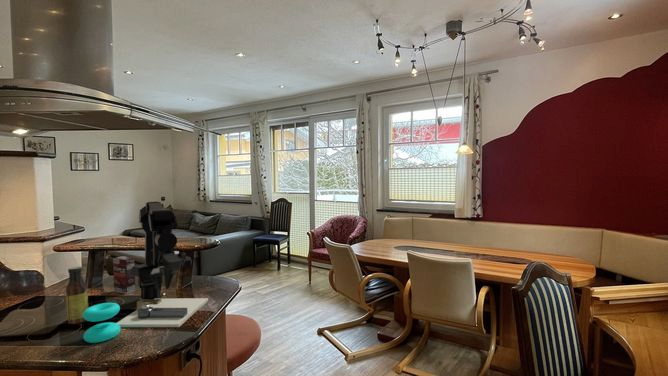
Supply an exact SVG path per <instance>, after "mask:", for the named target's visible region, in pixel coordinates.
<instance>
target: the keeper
mask: <svg viewBox="0 0 668 376" xmlns="http://www.w3.org/2000/svg"><path fill="white" fill-rule="evenodd" d="M140 299H141V298H140ZM140 299H138V300H137V301H136V310H137V312H138V310H139V309H141V308H142V305H145V304H149V305H155V304H159V303H160V302H162V299H163V298H158V299H141V300H140Z"/></svg>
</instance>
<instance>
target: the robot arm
mask: <svg viewBox="0 0 668 376" xmlns="http://www.w3.org/2000/svg"><path fill="white" fill-rule="evenodd" d="M138 223H139V224H140V225H141V229H142V230H143V231H144V235H145V236H144V263H142V264H141V263H140V264H138V265H135V266H133V267H132V269H131V275H134V276H135V277H138V279H137V285H138V288H139V289H140V296H141V297H140V299H139V300H141V299H161V297H162V294H161V291H162V284H163V283H164V287H165V289H166V290H168V289H170V285H171V284H172V280H173V277H174V275H175V274H176V272H178V271H179V270H180V269H181V266H183V267H186V266H187V267H188V266H191V265H192V259H191V257H190V256H187V254H186V253H185V252H184V251H183V252H180V253H175V249H174V248H176V246H177V243H178V238H177V236H176V235H175V234H174V233H173V231H172V230H177V227H178V221H177V216H176V214H175V212H174V211H173V210H172V209H170V208H164V207H163V206H162V204H161V201H148V202H145V206H143V207H142V208H140V209H139V214H138ZM161 269H163V271H162V270H161ZM163 278H164V282H163Z"/></svg>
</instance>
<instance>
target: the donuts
mask: <svg viewBox="0 0 668 376" xmlns="http://www.w3.org/2000/svg"><path fill="white" fill-rule="evenodd" d="M88 307H89V308H87V309H86V310H85V311H84V312H83V318H84V319H85V320H86V322H95V323H96V322H101V323H98V324H96V325H93V326H90V327H89V328H87V329H86V331H84V334H83V340H84V341H85V342H87V343H90V344H91V343H92V344H94V343H103V342H105V341H108V340H111V339H114V338H115V337H116V336H118V334H120V333H121V328H122V327H120V326H119V325H118V324H117V322H113V321H112V322H111V321H109V322H102V321H106V320H109V319H112V318H113V317H115V316H116V315H118V313H119V312H120V309H121V307H120V305H119V304H118V303H116V302H103V303H97V304H94V305H92V306H88Z"/></svg>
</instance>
